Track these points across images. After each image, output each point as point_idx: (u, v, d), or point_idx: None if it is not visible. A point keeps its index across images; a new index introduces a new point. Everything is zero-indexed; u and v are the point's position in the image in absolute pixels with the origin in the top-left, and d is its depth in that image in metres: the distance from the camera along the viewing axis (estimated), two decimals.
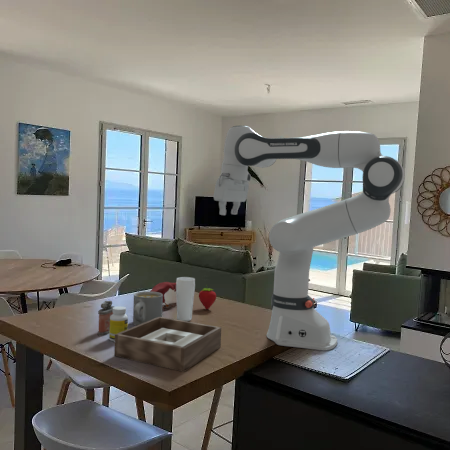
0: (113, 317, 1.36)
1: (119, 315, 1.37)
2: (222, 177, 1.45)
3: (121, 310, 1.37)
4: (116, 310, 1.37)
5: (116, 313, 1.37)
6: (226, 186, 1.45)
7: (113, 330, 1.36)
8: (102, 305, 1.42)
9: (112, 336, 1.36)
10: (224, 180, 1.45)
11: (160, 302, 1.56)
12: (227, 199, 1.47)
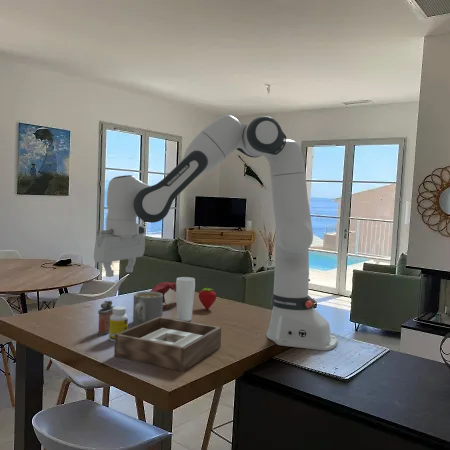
0: (113, 317, 1.36)
1: (119, 315, 1.37)
2: (101, 236, 1.28)
3: (121, 310, 1.37)
4: (116, 310, 1.37)
5: (116, 313, 1.37)
6: (107, 245, 1.29)
7: (113, 330, 1.36)
8: (102, 305, 1.42)
9: (112, 336, 1.36)
10: (104, 239, 1.28)
11: (160, 302, 1.56)
12: (111, 259, 1.31)
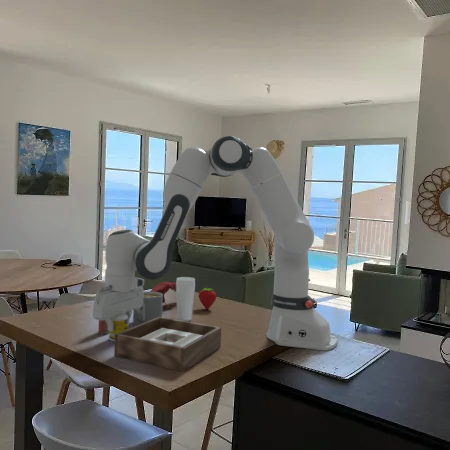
0: None
1: (119, 315, 1.37)
2: (100, 293, 1.29)
3: None
4: None
5: None
6: (105, 303, 1.30)
7: None
8: None
9: (112, 336, 1.36)
10: (102, 296, 1.29)
11: (160, 302, 1.56)
12: (110, 315, 1.32)
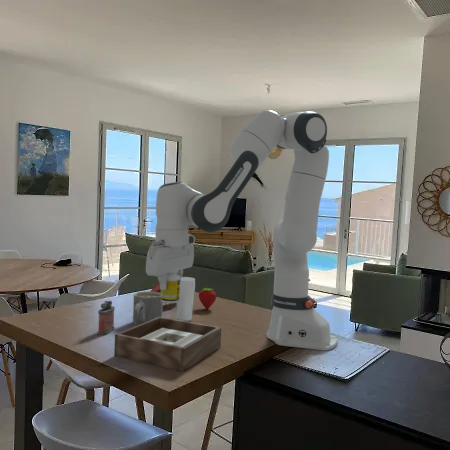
0: None
1: (171, 275, 1.28)
2: (153, 247, 1.20)
3: (174, 270, 1.28)
4: None
5: (168, 273, 1.27)
6: (159, 257, 1.21)
7: (165, 291, 1.27)
8: (102, 305, 1.42)
9: (164, 297, 1.27)
10: (156, 251, 1.20)
11: (160, 302, 1.56)
12: (163, 272, 1.23)
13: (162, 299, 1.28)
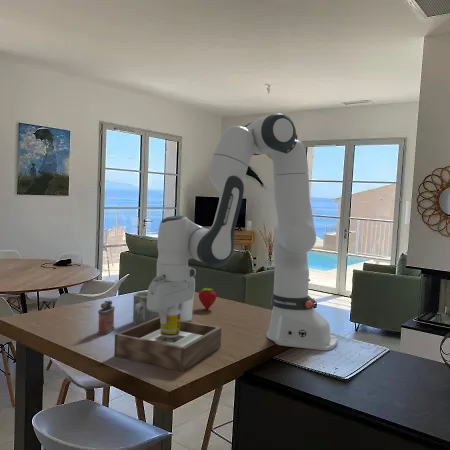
0: None
1: (172, 309, 1.28)
2: (154, 283, 1.20)
3: None
4: None
5: None
6: (160, 293, 1.21)
7: (165, 325, 1.27)
8: (102, 305, 1.42)
9: (164, 331, 1.27)
10: (157, 286, 1.20)
11: None
12: (164, 307, 1.23)
13: (162, 333, 1.28)
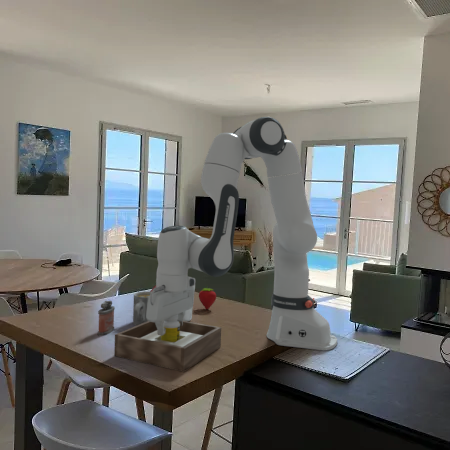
0: (165, 324, 1.28)
1: (171, 322, 1.28)
2: (154, 294, 1.20)
3: (174, 316, 1.28)
4: None
5: (168, 320, 1.28)
6: (160, 304, 1.21)
7: (165, 337, 1.28)
8: (102, 305, 1.42)
9: None
10: (157, 297, 1.20)
11: None
12: (164, 317, 1.23)
13: None
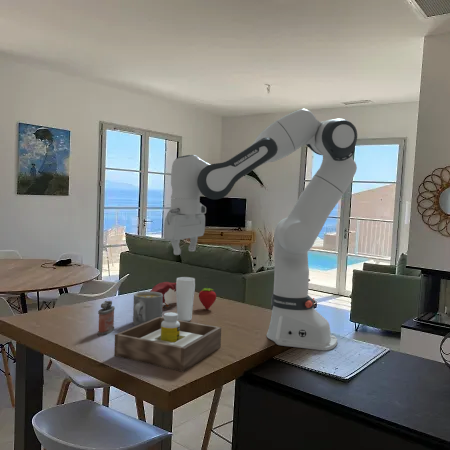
0: (165, 324, 1.28)
1: (171, 322, 1.28)
2: (170, 214, 1.31)
3: (173, 316, 1.28)
4: (168, 316, 1.28)
5: (168, 320, 1.28)
6: (176, 223, 1.31)
7: (165, 338, 1.28)
8: (102, 305, 1.42)
9: None
10: (173, 217, 1.31)
11: (160, 302, 1.56)
12: (179, 237, 1.33)
13: None
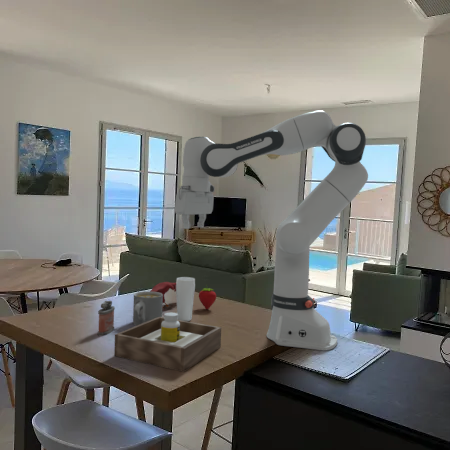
0: (165, 324, 1.28)
1: (171, 322, 1.28)
2: (182, 190, 1.42)
3: (174, 316, 1.28)
4: (168, 316, 1.28)
5: (168, 320, 1.28)
6: (187, 199, 1.42)
7: (165, 337, 1.28)
8: (102, 305, 1.42)
9: None
10: (184, 193, 1.42)
11: (160, 302, 1.56)
12: (189, 212, 1.44)
13: None
